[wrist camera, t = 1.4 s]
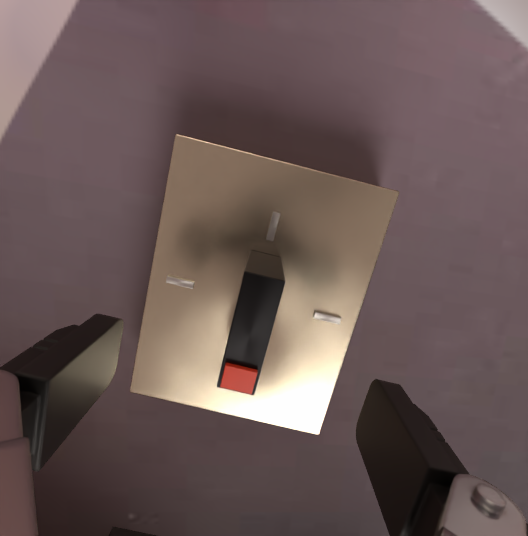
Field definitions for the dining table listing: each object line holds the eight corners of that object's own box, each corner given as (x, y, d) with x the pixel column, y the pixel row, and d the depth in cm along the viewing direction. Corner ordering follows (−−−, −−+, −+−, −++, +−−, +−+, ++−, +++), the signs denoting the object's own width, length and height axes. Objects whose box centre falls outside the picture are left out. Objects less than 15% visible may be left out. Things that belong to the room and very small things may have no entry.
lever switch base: (189, 141, 19) (174, 132, 16) (380, 191, 19) (401, 191, 16) (147, 365, 22) (127, 394, 19) (312, 403, 23) (319, 437, 19)
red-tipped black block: (250, 249, 17) (244, 272, 13) (281, 257, 17) (286, 282, 13) (228, 339, 18) (215, 390, 14) (257, 346, 18) (254, 399, 14)
